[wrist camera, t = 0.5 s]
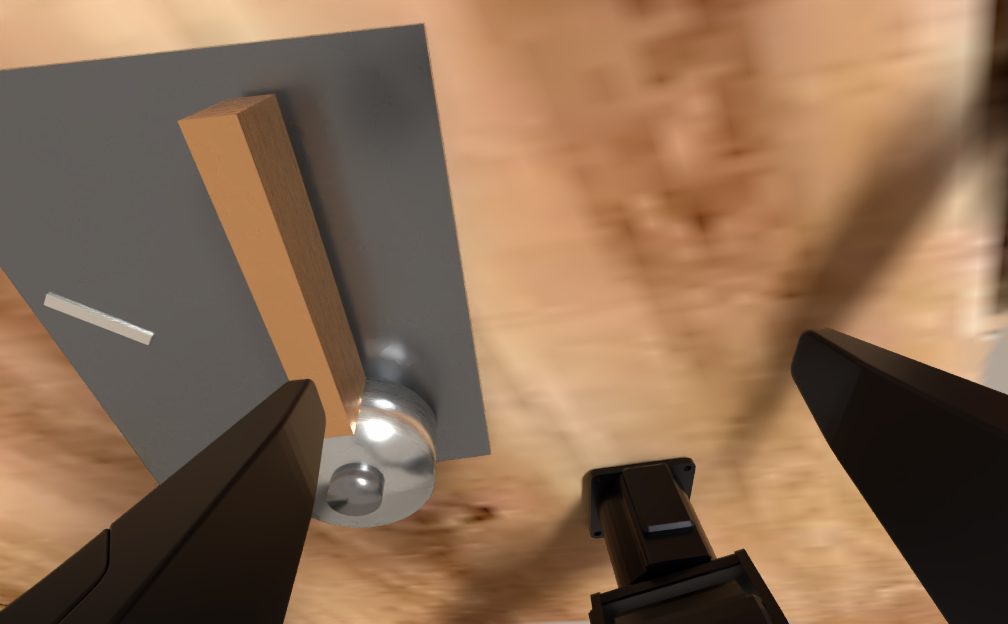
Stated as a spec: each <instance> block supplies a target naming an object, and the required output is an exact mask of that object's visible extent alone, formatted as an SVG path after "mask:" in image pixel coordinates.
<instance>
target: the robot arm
mask: <svg viewBox="0 0 1008 624" xmlns="http://www.w3.org/2000/svg"><path fill="white" fill-rule="evenodd" d="M791 374H792V377H793V380H794V382H795V383H796V385H797V387H798V389H799V391H800V393H801V395H802V397H803V398H804V400H805V402H806V404H807V406H808V408H809V410H810V412H811V413H812V415H813V417H814V419H815V421H816V423H817V425H818V427H819V428H820V430H821V432H822V434H823V436H824V438H825V439H826V441H827V443H828V445H829V446H830V448H831V450H832V451H833V453H834V454H835V456H836V457H837V459H838V460H839V462H840V463H841V465H842V466H843V468H844V469H845V471H846V472H847V474H848V475H849V477H850V478H851V480H852V481H853V483H854V484H855V486H856V487H857V489H858V490H859V492H860V493H861V495H862V496H863V498H864V499H865V500H866V502H867V503H868V505H869V506H870V508H871V509H872V511H873V512H874V514H875V515H876V517H877V518H878V520H879V521H880V523H881V524H882V526H883V527H884V529H885V530H886V532H887V533H888V535H889V536H890V538H891V539H892V541H893V542H894V544H895V545H896V546H897V548H898V549H899V551H900V552H901V554H902V555H903V557H904V558H905V560H906V561H907V563H908V564H909V566H910V567H911V569H912V570H913V572H914V573H915V575H916V576H917V578H918V579H919V581H920V582H921V584H922V585H923V587H924V588H925V590H926V591H927V592H928V594H929V595H930V597H931V598H932V600H933V601H934V603H935V604H936V606H937V607H938V609H939V610H940V612H941V613H942V615H943V616H944V618H945V619H946V621H947V622H948V624H1008V395H1007V394H1004V393H1001V392H999V391H996V390H993V389H991V388H988V387H985V386H983V385H980V384H977V383H975V382H972V381H969V380H967V379H964V378H961V377H959V376H956V375H953V374H951V373H948V372H945V371H943V370H940V369H937V368H934V367H932V366H929V365H926V364H924V363H921V362H918V361H916V360H913V359H910V358H908V357H905V356H902V355H900V354H897V353H894V352H892V351H889V350H886V349H884V348H881V347H878V346H876V345H873V344H870V343H868V342H865V341H862V340H859V339H857V338H854V337H851V336H849V335H846V334H843V333H841V332H838V331H835V330H833V329H830V328H817V329H807V330H805V331H803V332H802V333H801V335H800V337H799V340H798V343H797V346H796V349H795V353H794V356H793V359H792V362H791ZM325 428H326V416H325V411H324V408H323V405H322V402H321V399H320V396H319V394H318V391H317V388H316V385H315V383H314V382H313V380H311V379H299V380H290V381H287V382H286V383H285V384H283V385H282V386H281V387H280V388H278V389H277V390H276V391H275V392H273V393H272V394H271V395H270V396H269V397H267V398H266V399H265V400H264V401H262V402H261V403H260V404H259V405H257V406H256V407H255V408H254V409H253V410H251V411H250V412H249V413H248V414H246V415H245V416H244V417H243V418H241V419H240V420H239V421H238V422H237V423H235V424H234V425H233V426H232V427H230V428H229V429H228V430H227V431H225V432H224V433H223V434H222V435H221V436H219V437H218V438H217V439H216V440H214V441H213V442H212V443H211V444H210V445H208V446H207V447H206V448H205V449H203V450H202V451H201V452H200V453H198V454H197V455H196V456H195V457H194V458H192V459H191V460H190V461H189V462H187V463H186V464H185V465H184V466H182V467H181V468H180V469H179V470H178V471H176V472H175V473H174V474H173V475H171V476H170V477H169V478H168V479H166V480H165V481H164V482H163V483H162V484H160V485H159V486H158V487H157V488H155V489H154V490H153V491H152V492H150V493H149V494H148V495H147V496H146V497H144V498H143V499H142V500H141V501H139V502H138V503H137V504H136V505H134V506H133V507H132V508H131V509H129V510H128V511H127V512H126V513H125V514H123V515H122V516H121V517H120V518H118V519H117V520H116V521H115V522H113V523H112V524H111V526H110V529H105V530H103V531H102V532H101V533H100V534H99V535H97V536H96V537H95V538H94V539H92V540H91V541H90V542H89V543H88V544H86V545H85V546H84V547H83V548H81V549H80V550H79V551H78V552H76V553H75V554H74V555H73V556H71V557H70V558H69V559H67V560H66V561H65V562H64V563H62V564H61V565H60V566H59V567H57V568H56V569H55V570H54V571H52V572H51V573H50V574H48V575H47V576H46V577H45V578H43V579H42V580H41V581H40V582H38V583H37V584H36V585H34V586H33V587H32V588H30V589H29V590H28V591H26V592H25V593H24V594H22V595H21V596H20V597H18V598H17V599H16V600H14V601H13V602H11V603H10V604H9V605H7V606H6V607H5V608H3V609H2V610H1V611H0V624H283V622H284V619H285V615H286V611H287V607H288V603H289V600H290V596H291V592H292V588H293V584H294V581H295V577H296V573H297V569H298V565H299V562H300V558H301V554H302V550H303V546H304V543H305V539H306V535H307V531H308V527H309V523H310V520H311V516H312V512H313V507H314V503H315V497H316V491H317V485H318V478H319V470H320V463H321V456H322V449H323V442H324V435H325ZM695 468H696V466H695V464H694V462H693V460H692V459H691V458H681V459H673V460H666V461H658V462H651V463H643V464H636V465H628V466H620V467H613V468H605V469H598V470H594V471H592V472H591V473H590V475H589V531H590V535H591V537H593V538H602V537H604V538H605V542H606V546H607V549H608V553H609V556H610V560H611V563H612V567H613V571H614V574H615V578H616V581H617V585H618V589H615V590H611V591H608V592H605V593H602V594H601V593H600V592H598V593H595V594H592V595H591V603H592V610H590V612H589V619H590V623H591V624H789V623H788V621H787V619H786V617H785V616H784V614H783V612H782V610H781V609H780V607H779V606H778V604H777V602H776V601H775V599H774V597H773V596H772V594H771V592H770V591H769V589H768V587H767V586H766V584H765V582H764V581H763V579H762V577H761V576H760V574H759V572H758V571H757V569H756V567H755V566H754V564H753V562H752V561H751V559H750V557H749V556H748V554H747V552H746V551H745V549H741V550H738V551H734V554H731V555H728V556H724V557H721V558H718V559H717V557H716V555H715V553H714V551H713V549H712V547H711V545H710V543H709V540H708V538H707V536H706V534H705V532H704V530H703V528H702V526H701V524H700V521H699V519H698V517H697V515H696V513H695V511H694V509H693V507H692V504H691V502H690V496H691V491H692V485H693V479H694V474H695Z"/></svg>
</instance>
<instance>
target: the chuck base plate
mask: <svg viewBox="0 0 1008 624" xmlns="http://www.w3.org/2000/svg"><path fill="white" fill-rule="evenodd" d="M268 94H276V98H277V101H278V104H279V107H280V110H281V113H282V116H283V120H284V123H285V126H286V129H287V132H288V135H289V138H290V142H291V145H292V148H293V151H294V154H295V157H296V160H297V163H298V167H299V170H300V173H301V176H302V179H303V182H304V185H305V189H306V192H307V195H308V198H309V201H310V204H311V207H312V211H313V214H314V217H315V220H316V223H317V226H318V229H319V232H320V236H321V239H322V242H323V245H324V248H325V251H326V254H327V258H328V261H329V264H330V267H331V270H332V273H333V276H334V279H335V283H336V286H337V289H338V292H339V295H340V298H341V301H342V305H343V308H344V311H345V314H346V317H347V320H348V323H349V327H350V330H351V333H352V336H353V339H354V342H355V345H356V348H357V352H358V355H359V358H360V361H361V364H362V367H363V370H364V374H365V377H375V378H382V379H386V380H390V381H393V382H396V383H399V384H401V385H403V386H405V387H407V388H409V389H411V390H412V391H414V392H415V393H417V394H418V395H419V396H421V397H422V398H423V399H424V400H425V401H426V403H427V404H428V405H429V407H430V408H431V410H432V412H433V414H434V416H435V419H436V424H437V437H436V462H437V461H445V460H452V459H460V458H467V457H475V456H483V455H490V454H491V450H490V441H489V434H488V428H487V421H486V415H485V408H484V402H483V396H482V389H481V383H480V376H479V370H478V363H477V357H476V350H475V344H474V338H473V331H472V325H471V318H470V312H469V305H468V299H467V292H466V286H465V279H464V273H463V267H462V260H461V254H460V247H459V241H458V234H457V228H456V221H455V215H454V208H453V202H452V196H451V189H450V183H449V176H448V170H447V163H446V157H445V150H444V144H443V138H442V131H441V125H440V118H439V112H438V105H437V99H436V92H435V86H434V79H433V73H432V67H431V60H430V54H429V47H428V41H427V34H426V28H425V23H418V24H409V25H400V26H391V27H382V28H373V29H364V30H355V31H346V32H337V33H328V34H319V35H310V36H301V37H292V38H282V39H273V40H264V41H255V42H246V43H237V44H228V45H219V46H210V47H201V48H192V49H183V50H174V51H165V52H156V53H147V54H138V55H129V56H120V57H111V58H102V59H93V60H84V61H75V62H66V63H57V64H48V65H39V66H30V67H20V68H11V69H2V70H0V267H1V268H2V270H3V271H4V272H5V274H6V275H7V276H8V278H9V279H10V281H11V282H12V283H13V285H14V286H15V287H16V289H17V290H18V291H19V293H20V294H21V296H22V297H23V298H24V300H25V301H26V302H27V304H28V305H29V307H30V308H31V309H32V311H33V312H34V313H35V315H36V316H37V318H38V319H39V320H40V322H41V323H42V324H43V326H44V327H45V329H46V330H47V331H48V333H49V334H50V335H51V337H52V338H53V340H54V341H55V342H56V344H57V345H58V346H59V348H60V349H61V351H62V352H63V353H64V355H65V356H66V357H67V359H68V360H69V362H70V363H71V364H72V366H73V367H74V368H75V370H76V371H77V373H78V374H79V375H80V377H81V378H82V379H83V381H84V382H85V383H86V385H87V386H88V388H89V389H90V390H91V392H92V393H93V394H94V396H95V397H96V399H97V400H98V401H99V403H100V404H101V405H102V407H103V408H104V410H105V411H106V412H107V414H108V415H109V416H110V418H111V419H112V421H113V422H114V423H115V425H116V426H117V427H118V429H119V430H120V432H121V433H122V434H123V436H124V437H125V438H126V440H127V441H128V443H129V444H130V445H131V447H132V448H133V449H134V451H135V452H136V454H137V455H138V456H139V458H140V459H141V460H142V462H143V463H144V464H145V466H146V467H147V469H148V470H149V471H150V473H151V474H152V475H153V477H154V478H155V480H156V481H157V482H158V484H159V485H160V484H162V483H163V482H164V481H165V480H166V479H168V478H169V477H170V476H171V475H173V474H174V473H175V472H176V471H178V470H179V469H180V468H181V467H182V466H184V465H185V464H186V463H187V462H189V461H190V460H191V459H192V458H194V457H195V456H196V455H197V454H198V453H200V452H201V451H202V450H203V449H205V448H206V447H207V446H208V445H210V444H211V443H212V442H213V441H214V440H216V439H217V438H218V437H219V436H221V435H222V434H223V433H224V432H225V431H227V430H228V429H229V428H230V427H232V426H233V425H234V424H235V423H237V422H238V421H239V420H240V419H241V418H243V417H244V416H245V415H246V414H248V413H249V412H250V411H251V410H253V409H254V408H255V407H256V406H257V405H259V404H260V403H261V402H262V401H264V400H265V399H266V398H267V397H269V396H270V395H271V394H272V393H273V392H275V391H276V390H277V389H278V388H280V387H281V386H282V385H283V384H285V383H286V382H287V381H289V379H288V377H287V374H286V372H285V370H284V367H283V365H282V363H281V360H280V358H279V356H278V353H277V351H276V349H275V346H274V344H273V342H272V339H271V337H270V335H269V332H268V330H267V328H266V326H265V323H264V321H263V319H262V316H261V314H260V312H259V309H258V307H257V305H256V302H255V300H254V298H253V295H252V293H251V291H250V288H249V286H248V284H247V281H246V279H245V277H244V274H243V272H242V270H241V268H240V265H239V263H238V261H237V258H236V256H235V254H234V251H233V249H232V247H231V244H230V242H229V240H228V237H227V235H226V233H225V230H224V228H223V226H222V223H221V221H220V219H219V216H218V214H217V212H216V209H215V207H214V205H213V203H212V200H211V198H210V196H209V193H208V191H207V189H206V186H205V184H204V182H203V179H202V177H201V175H200V172H199V170H198V168H197V165H196V163H195V161H194V158H193V156H192V154H191V151H190V149H189V147H188V145H187V142H186V140H185V138H184V135H183V133H182V131H181V128H180V126H179V124H178V121H179V120H181V119H183V118H185V117H188V116H190V115H192V114H195V113H197V112H199V111H201V110H204V109H206V108H208V107H210V106H213V105H215V104H217V103H219V102H222V101H224V100H226V99H233V98H242V97H250V96H259V95H268Z"/></svg>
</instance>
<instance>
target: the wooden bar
mask: <svg viewBox="0 0 1008 624" xmlns="http://www.w3.org/2000/svg"><path fill="white" fill-rule="evenodd" d="M178 124H179V126H180V128H181V131H182V133H183V135H184V138H185V140H186V142H187V145H188V147H189V149H190V151H191V154H192V156H193V158H194V161H195V163H196V165H197V168H198V170H199V172H200V175H201V177H202V179H203V182H204V184H205V186H206V189H207V191H208V193H209V196H210V198H211V200H212V203H213V205H214V207H215V209H216V212H217V214H218V216H219V219H220V221H221V223H222V226H223V228H224V230H225V233H226V235H227V237H228V240H229V242H230V244H231V247H232V249H233V251H234V254H235V256H236V258H237V261H238V263H239V265H240V268H241V270H242V272H243V274H244V277H245V279H246V281H247V284H248V286H249V288H250V291H251V293H252V295H253V298H254V300H255V302H256V305H257V307H258V309H259V312H260V314H261V316H262V319H263V321H264V323H265V326H266V328H267V330H268V332H269V335H270V337H271V339H272V342H273V344H274V346H275V349H276V351H277V353H278V356H279V358H280V360H281V363H282V365H283V367H284V370H285V372H286V374H287V377H288V379H289V381H290V380H299V379H311V380H313V382H314V383H315V385H316V388H317V391H318V394H319V396H320V399H321V402H322V405H323V408H324V411H325V416H326V428H325V435H324V442H323V449H322V456H321V463H320V470H319V478H318V485H317V491H316V497H315V503H314V507H313V512H312V516H311V517H313V518H315V519H317V520H320V521H323V522H326V523H329V524H334V525H338V526H345V527H375V526H381V525H386V524H390V523H394V522H396V521H399V520H402V519H404V518H406V517H408V516H410V515H411V514H413V513H415V512H416V511H417V510H418V509H420V508H421V507H422V506H423V505H424V504H425V503H426V502H427V500H428V499H429V497H430V496H431V494H432V491H433V488H434V484H435V463H436V437H437V424H436V419H435V416H434V414H433V412H432V410H431V408H430V407H429V405H428V404H427V403H426V401H425V400H424V399H423V398H422V397H421V396H419V395H418V394H417V393H415V392H414V391H412V390H411V389H409V388H407V387H405V386H403V385H401V384H399V383H396V382H393V381H390V380H386V379H382V378H375V377H365V374H364V370H363V367H362V364H361V361H360V358H359V355H358V352H357V348H356V345H355V342H354V339H353V336H352V333H351V330H350V327H349V323H348V320H347V317H346V314H345V311H344V308H343V305H342V301H341V298H340V295H339V292H338V289H337V286H336V283H335V279H334V276H333V273H332V270H331V267H330V264H329V261H328V258H327V254H326V251H325V248H324V245H323V242H322V239H321V236H320V232H319V229H318V226H317V223H316V220H315V217H314V214H313V211H312V207H311V204H310V201H309V198H308V195H307V192H306V189H305V185H304V182H303V179H302V176H301V173H300V170H299V167H298V163H297V160H296V157H295V154H294V151H293V148H292V145H291V142H290V138H289V135H288V132H287V129H286V126H285V123H284V120H283V116H282V113H281V110H280V107H279V104H278V101H277V98H276V94H268V95H259V96H250V97H242V98H233V99H226V100H224V101H222V102H219V103H217V104H215V105H213V106H210V107H208V108H206V109H204V110H201V111H199V112H197V113H195V114H192V115H190V116H188V117H185V118H183V119H181V120H179V121H178Z"/></svg>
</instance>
